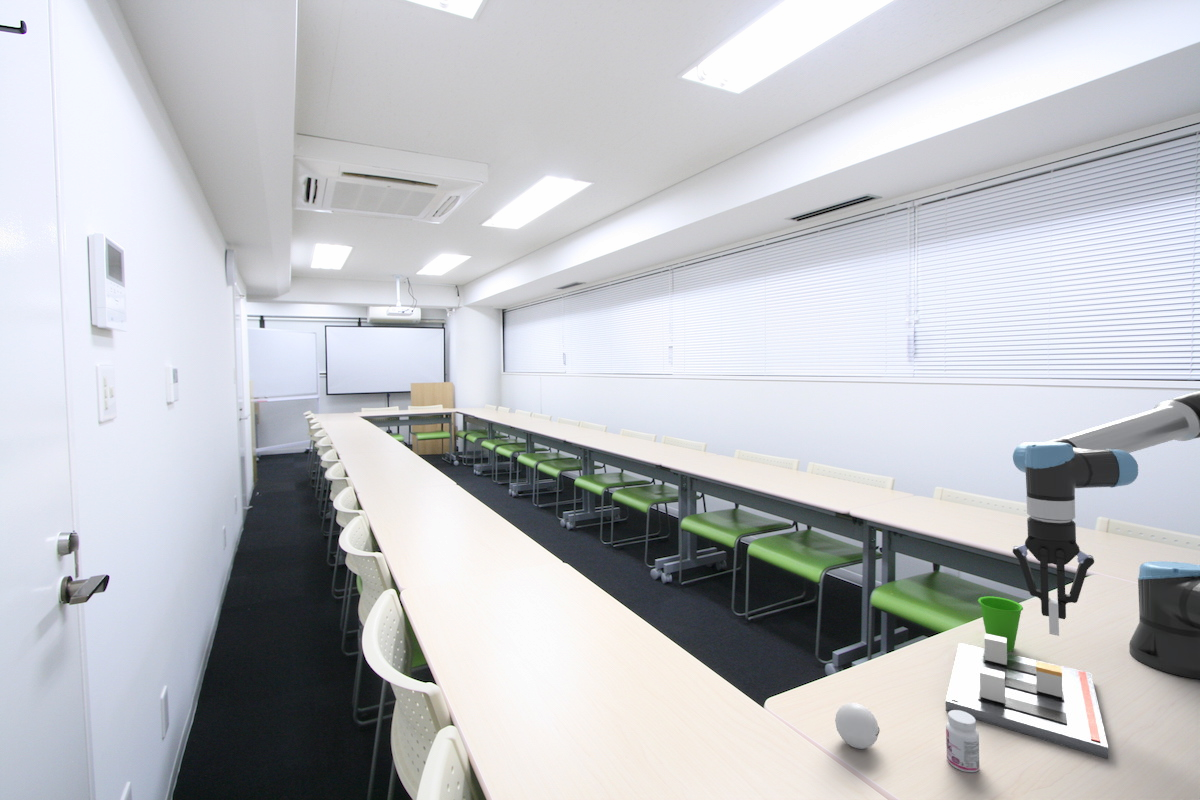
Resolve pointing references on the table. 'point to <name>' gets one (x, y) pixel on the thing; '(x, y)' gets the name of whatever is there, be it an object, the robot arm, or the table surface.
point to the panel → (1030, 701)
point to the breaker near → (992, 684)
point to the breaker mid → (1049, 678)
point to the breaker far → (996, 649)
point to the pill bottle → (962, 741)
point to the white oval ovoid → (857, 725)
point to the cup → (1001, 618)
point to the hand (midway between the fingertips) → (1054, 632)
